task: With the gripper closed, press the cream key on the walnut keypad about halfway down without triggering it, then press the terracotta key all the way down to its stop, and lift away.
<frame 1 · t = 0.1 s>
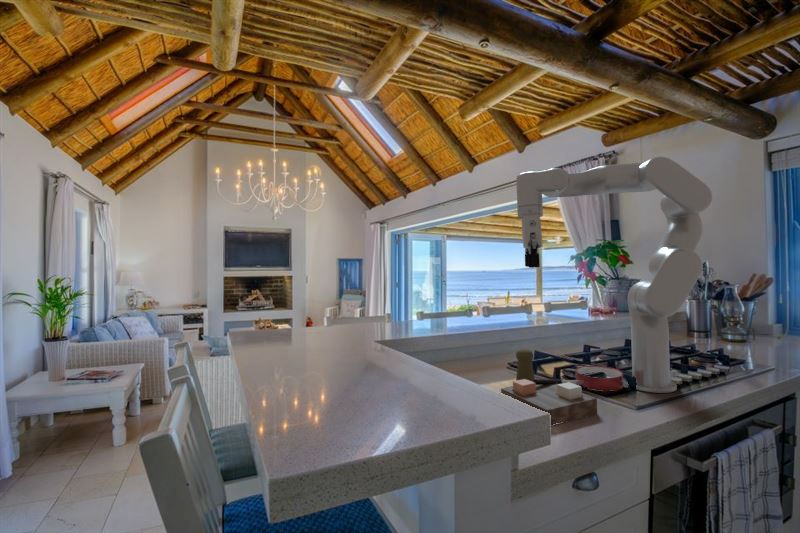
hand: (532, 266, 124), 37 cm above the counter, tool pointing down, fingers open, 9 cm apart
olive brown rounded cylinder: (525, 384, 125), on the counter
frying pan: (579, 392, 116), on the counter
keypad: (547, 407, 105), on the counter
terracotta key: (524, 387, 107), point 5 cm above the counter, slide at 0.0 cm
cream key: (569, 391, 103), point 5 cm above the counter, slide at 0.0 cm
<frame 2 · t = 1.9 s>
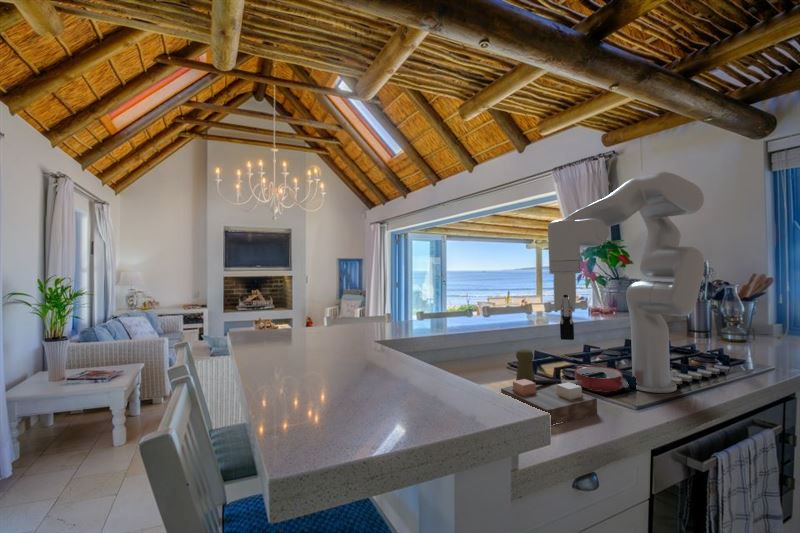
hand: (567, 337, 103), 19 cm above the counter, tool pointing down, fingers open, 3 cm apart
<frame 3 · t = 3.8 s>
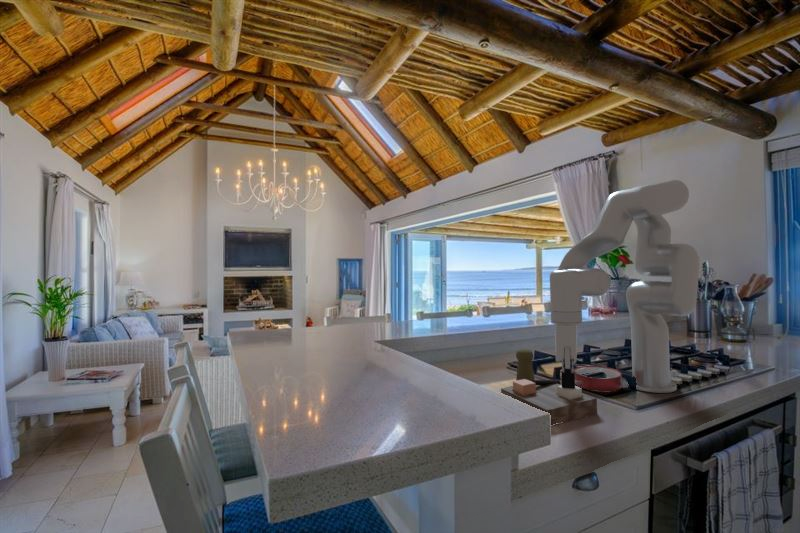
hand: (568, 387, 103), 6 cm above the counter, tool pointing down, fingers closed
cream key: (569, 392, 103), point 5 cm above the counter, slide at 0.4 cm, touching gripper
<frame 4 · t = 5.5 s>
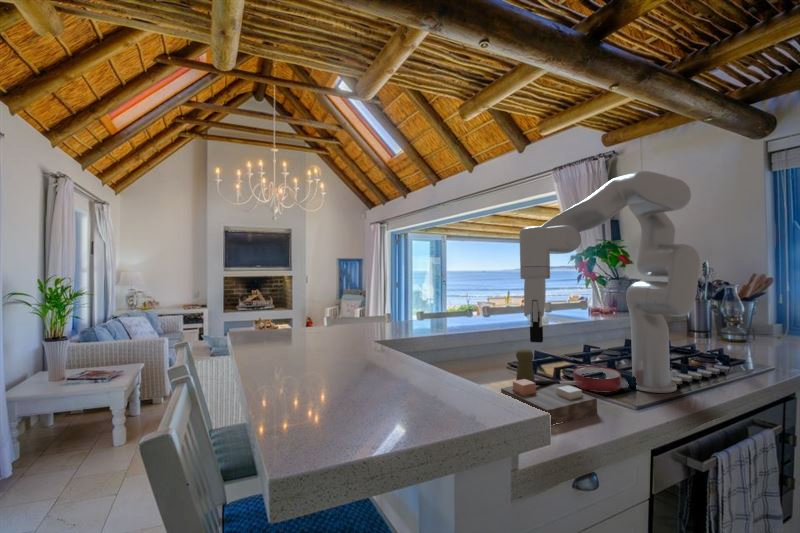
hand: (536, 341, 105), 18 cm above the counter, tool pointing down, fingers closed
cream key: (569, 394, 103), point 4 cm above the counter, slide at 0.9 cm
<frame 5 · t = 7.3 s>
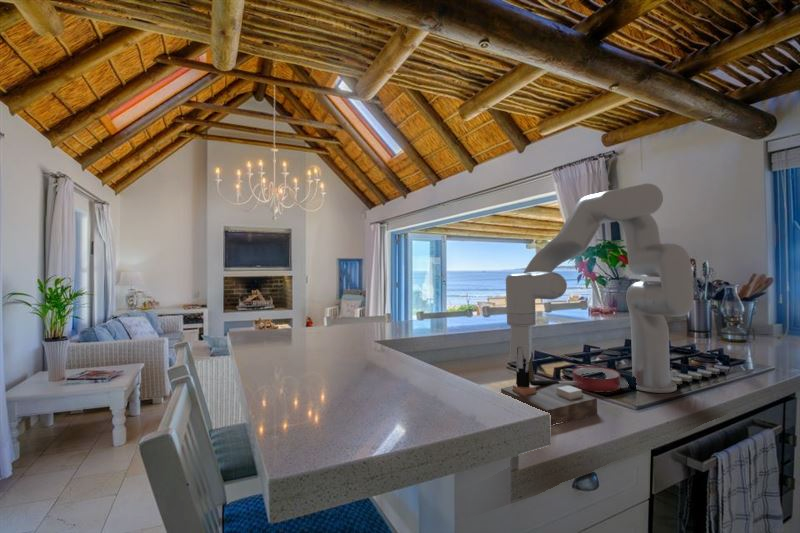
hand: (523, 385, 107), 6 cm above the counter, tool pointing down, fingers closed
terracotta key: (524, 391, 107), point 4 cm above the counter, slide at 1.0 cm, touching gripper
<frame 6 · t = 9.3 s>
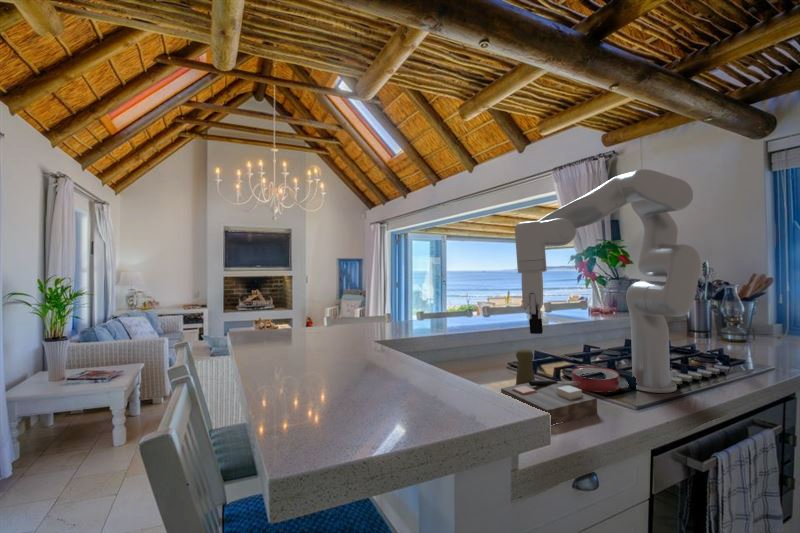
hand: (536, 333, 108), 20 cm above the counter, tool pointing down, fingers closed
terracotta key: (524, 394, 107), point 3 cm above the counter, slide at 2.0 cm
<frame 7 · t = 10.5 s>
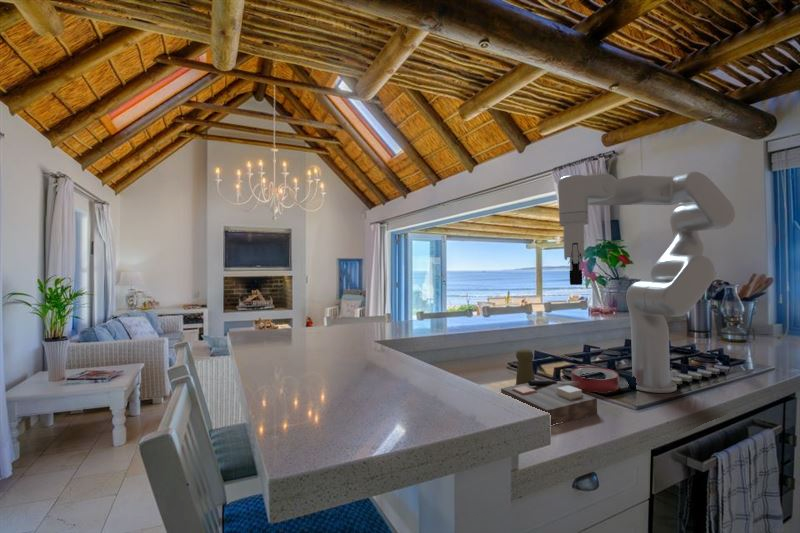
hand: (576, 284, 112), 32 cm above the counter, tool pointing down, fingers closed
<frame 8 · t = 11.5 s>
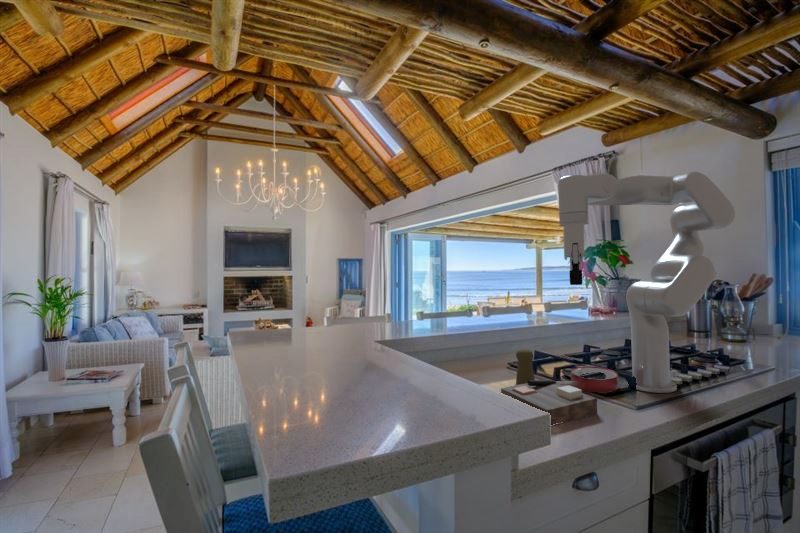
hand: (576, 284, 112), 32 cm above the counter, tool pointing down, fingers closed
at the end: cream key slide at 0.9 cm; terracotta key slide at 2.0 cm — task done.
